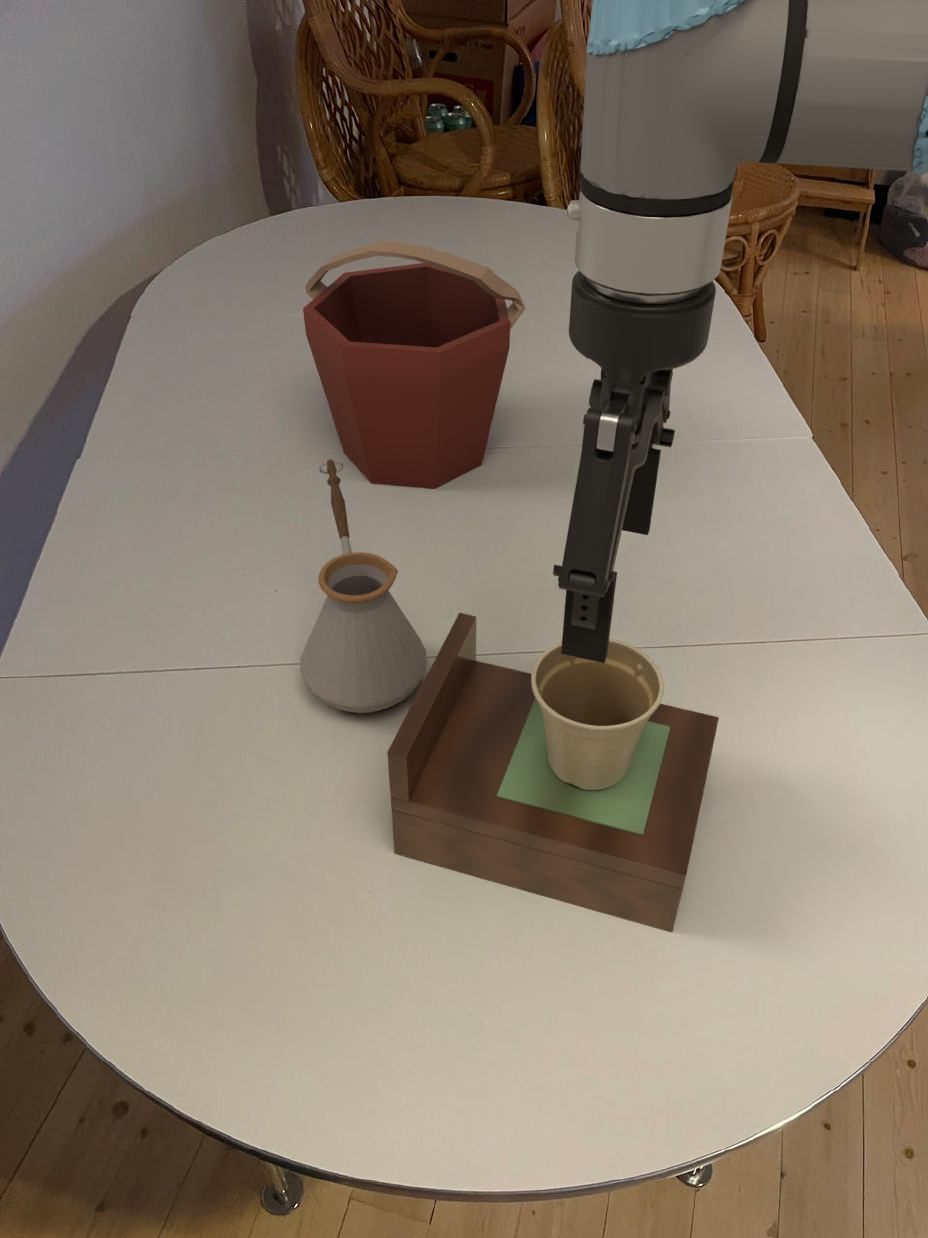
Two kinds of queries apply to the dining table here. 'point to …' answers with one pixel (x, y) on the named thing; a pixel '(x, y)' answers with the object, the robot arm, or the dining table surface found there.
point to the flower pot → (595, 711)
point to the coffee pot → (360, 629)
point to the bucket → (411, 360)
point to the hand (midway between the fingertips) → (608, 587)
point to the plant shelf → (542, 793)
